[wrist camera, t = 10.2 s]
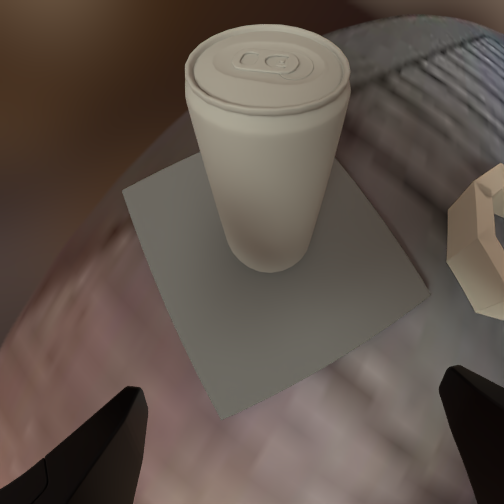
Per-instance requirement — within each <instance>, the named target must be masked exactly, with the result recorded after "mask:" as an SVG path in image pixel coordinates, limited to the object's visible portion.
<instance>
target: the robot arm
mask: <svg viewBox="0 0 504 504" xmlns="http://www.w3.org/2000/svg"><path fill="white" fill-rule="evenodd" d="M439 394H440V397H441V400H442V403H443V406H444V410H445V413H446V416H447V419H448V423H449V426H450V429H451V432H452V435H453V437H454V440H455V442H456V445H457V447H458V450H459V452H460V455H461V458H462V460H463V463H464V466H465V468H466V471H467V474H468V477H469V480H470V483H471V485H472V488H473V491H474V494H475V498H476V501H477V504H504V388H503V387H501V386H499V385H497V384H495V383H493V382H491V381H489V380H488V379H486V378H484V377H482V376H480V375H478V374H476V373H474V372H472V371H470V370H468V369H466V368H464V367H463V366H461V365H456V366H451V367H449V368H448V369H447V370H446V372H445V375H444V377H443V379H442V381H441V384H440V386H439ZM147 419H148V406H147V403H146V400H145V396H144V393H143V390H142V389H141V388H140V387H133V386H127V387H125V388H124V389H123V390H122V391H120V392H119V393H118V394H117V395H116V396H115V397H114V398H112V399H111V400H110V401H109V402H108V403H107V404H106V405H104V406H103V407H102V408H101V409H100V410H99V411H97V412H96V413H95V414H94V415H93V416H92V417H91V418H89V419H88V420H87V421H86V422H85V423H84V424H82V425H81V426H80V427H79V428H78V429H77V430H75V431H74V432H73V433H72V434H71V435H70V436H68V437H67V438H66V439H65V440H64V441H63V442H61V443H60V444H59V445H58V446H57V447H55V448H54V449H53V450H52V451H51V452H50V453H48V454H47V455H46V456H45V458H42V459H41V460H40V461H39V462H38V463H36V464H35V465H34V466H33V467H31V468H30V469H29V470H28V471H26V472H25V473H24V474H22V475H21V476H20V477H18V478H17V479H15V480H14V481H12V482H11V483H9V484H8V485H6V486H5V487H3V488H1V489H0V504H133V501H134V496H135V492H136V487H137V483H138V478H139V474H140V470H141V466H142V461H143V453H144V444H145V436H146V427H147Z"/></svg>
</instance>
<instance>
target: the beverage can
mask: <svg viewBox="0 0 504 504" xmlns="http://www.w3.org/2000/svg"><path fill="white" fill-rule="evenodd" d="M349 76H350V67H349V63H348V60H347V58H346V57H345V55H344V54H343V52H342V51H341V50H340V49H339V48H338V47H337V46H336V45H334V44H333V43H332V42H331V41H329V40H328V39H326V38H324V37H322V36H320V35H318V34H316V33H313V32H310V31H307V30H304V29H301V28H297V27H291V26H285V25H274V24H259V25H249V26H242V27H238V28H234V29H230V30H226V31H224V32H222V33H219V34H217V35H214V36H212V37H210V38H209V39H207V40H206V41H204V42H203V43H201V44H200V45H199V46H198V47H197V48H196V49H195V50H194V51H193V52H192V53H191V54H190V56H189V58H188V60H187V62H186V65H185V78H186V82H185V94H186V102H187V105H188V109H189V112H190V116H191V120H192V123H193V127H194V130H195V134H196V138H197V141H198V145H199V148H200V152H201V155H202V159H203V162H204V166H205V169H206V173H207V176H208V180H209V183H210V186H211V190H212V193H213V197H214V200H215V203H216V207H217V210H218V213H219V217H220V220H221V223H222V226H223V229H224V233H225V236H226V239H227V242H228V244H229V246H230V248H231V250H232V252H233V254H234V255H235V256H236V257H237V258H238V259H239V260H240V261H241V262H242V263H244V264H245V265H246V266H248V267H249V268H252V269H254V270H256V271H259V272H267V273H273V272H279V271H283V270H285V269H288V268H290V267H292V266H293V265H295V264H296V263H297V262H298V261H300V260H301V259H302V257H303V256H304V254H305V253H306V251H307V249H308V246H309V243H310V240H311V237H312V234H313V231H314V227H315V224H316V221H317V217H318V214H319V210H320V207H321V204H322V200H323V197H324V193H325V190H326V186H327V183H328V179H329V176H330V172H331V168H332V165H333V161H334V157H335V154H336V150H337V146H338V142H339V138H340V135H341V131H342V127H343V123H344V119H345V115H346V111H347V107H348V103H349V99H350V94H351V88H350V83H349Z"/></svg>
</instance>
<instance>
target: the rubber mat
mask: <svg viewBox="0 0 504 504" xmlns="http://www.w3.org/2000/svg"><path fill="white" fill-rule="evenodd" d="M122 192H123V195H124V198H125V201H126V204H127V207H128V210H129V213H130V216H131V219H132V221H133V224H134V227H135V230H136V233H137V235H138V238H139V241H140V243H141V246H142V249H143V251H144V254H145V257H146V259H147V262H148V264H149V267H150V269H151V272H152V274H153V277H154V279H155V282H156V284H157V287H158V289H159V292H160V294H161V296H162V299H163V301H164V303H165V306H166V308H167V310H168V313H169V315H170V317H171V319H172V322H173V324H174V326H175V328H176V331H177V333H178V335H179V337H180V339H181V341H182V344H183V346H184V348H185V350H186V352H187V354H188V356H189V358H190V360H191V363H192V365H193V367H194V369H195V371H196V373H197V375H198V377H199V379H200V381H201V383H202V385H203V387H204V388H205V390H206V392H207V394H208V396H209V398H210V400H211V402H212V404H213V406H214V408H215V409H216V411H217V413H218V415H219V417H220V419H221V420H223V419H225V418H227V417H230V416H232V415H234V414H236V413H238V412H240V411H243V410H245V409H247V408H249V407H251V406H253V405H255V404H257V403H259V402H261V401H263V400H265V399H267V398H269V397H271V396H273V395H275V394H277V393H279V392H281V391H283V390H285V389H286V388H288V387H290V386H292V385H294V384H296V383H298V382H299V381H301V380H303V379H305V378H307V377H308V376H310V375H312V374H314V373H315V372H317V371H319V370H321V369H322V368H324V367H326V366H327V365H329V364H331V363H332V362H334V361H336V360H337V359H339V358H341V357H342V356H344V355H345V354H347V353H349V352H350V351H352V350H353V349H355V348H357V347H358V346H360V345H361V344H363V343H364V342H366V341H367V340H369V339H370V338H372V337H373V336H375V335H376V334H378V333H379V332H381V331H382V330H384V329H385V328H387V327H388V326H390V325H391V324H392V323H394V322H395V321H397V320H398V319H400V318H401V317H402V316H404V315H405V314H406V313H408V312H409V311H411V310H412V309H413V308H415V307H416V306H417V305H419V304H420V303H421V302H423V301H424V300H425V299H427V298H428V297H429V296H430V295H431V294H430V292H429V290H428V289H427V287H426V285H425V284H424V282H423V280H422V279H421V277H420V275H419V274H418V272H417V271H416V269H415V267H414V266H413V264H412V263H411V261H410V260H409V258H408V257H407V255H406V253H405V252H404V250H403V249H402V247H401V246H400V244H399V243H398V241H397V240H396V238H395V237H394V235H393V234H392V233H391V231H390V230H389V228H388V227H387V225H386V224H385V223H384V221H383V220H382V218H381V217H380V215H379V214H378V213H377V211H376V210H375V209H374V207H373V206H372V204H371V203H370V202H369V200H368V199H367V198H366V196H365V195H364V194H363V192H362V191H361V190H360V188H359V187H358V186H357V184H356V183H355V182H354V181H353V179H352V178H351V177H350V175H349V174H348V173H347V172H346V170H345V169H344V168H343V167H342V165H341V164H340V163H339V162H338V160H337V159H336V158H335V157H334V161H333V165H332V168H331V172H330V176H329V179H328V183H327V186H326V190H325V193H324V197H323V200H322V204H321V207H320V210H319V214H318V217H317V221H316V224H315V227H314V231H313V234H312V237H311V240H310V243H309V246H308V249H307V251H306V253H305V254H304V256H303V257H302V259H301V260H300V261H298V262H297V263H296V264H295V265H293V266H292V267H290V268H288V269H285V270H283V271H279V272H273V273H267V272H259V271H256V270H254V269H252V268H249V267H248V266H246V265H245V264H244V263H242V262H241V261H240V260H239V259H238V258H237V257H236V256H235V255H234V254H233V252H232V250H231V248H230V246H229V244H228V242H227V239H226V236H225V233H224V229H223V226H222V223H221V220H220V217H219V213H218V210H217V207H216V203H215V200H214V197H213V193H212V190H211V186H210V183H209V180H208V176H207V173H206V169H205V166H204V162H203V159H202V155H201V152H199V153H197V154H195V155H192V156H190V157H188V158H186V159H184V160H182V161H179V162H177V163H175V164H173V165H171V166H169V167H167V168H165V169H163V170H161V171H159V172H157V173H155V174H153V175H151V176H149V177H147V178H145V179H143V180H141V181H139V182H137V183H135V184H133V185H132V186H130V187H128V188H126V189H124V190H122Z"/></svg>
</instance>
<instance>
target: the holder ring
mask: <svg viewBox="0 0 504 504" xmlns="http://www.w3.org/2000/svg"><path fill="white" fill-rule="evenodd" d="M494 214H496V215H498V216H500V217H503V218H504V165H503V164H501V163H500V164H498V165H497V166H495V167H494V168H492V169H491V170H489V171H488V172H486V173H485V174H483V175H482V176H481V177H479V178H478V179H476V180H475V181H473V182H472V183H471V184H470V186H469V187H468V188H467V189H466V190H465V191H464V192H463V194H462V195H461V196H460V197H459V198H458V199H457V200H456V201H455V202H454V204H453V205H452V206H451V207H450V208H449V209H448V236H447V259H446V262H447V264H448V265H449V267H450V269H451V270H452V272H453V274H454V275H455V277H456V279H457V280H458V282H459V284H460V285H461V287H462V289H463V291H464V292H465V294H466V296H467V298H468V300H469V301H470V303H471V305H472V307H473V309H474V311H475V313H479V314H482V315H486V316H489V317H493V318H497V319H500V320H504V249H503V248H502V246H501V244H500V243H499V241H498V239H497V238H496V236H495V223H494Z"/></svg>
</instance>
